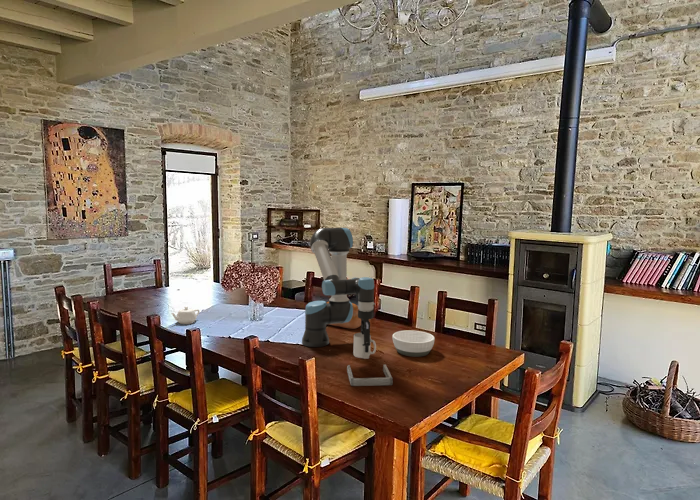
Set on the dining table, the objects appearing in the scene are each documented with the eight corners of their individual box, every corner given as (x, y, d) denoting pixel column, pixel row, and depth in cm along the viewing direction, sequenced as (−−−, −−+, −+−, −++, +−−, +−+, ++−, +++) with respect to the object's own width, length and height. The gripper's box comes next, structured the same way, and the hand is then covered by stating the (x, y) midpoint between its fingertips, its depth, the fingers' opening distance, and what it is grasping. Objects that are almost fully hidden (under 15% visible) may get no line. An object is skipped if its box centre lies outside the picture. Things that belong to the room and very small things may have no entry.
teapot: (176, 327, 283) (176, 311, 282) (166, 323, 291) (165, 308, 290) (204, 321, 299) (204, 305, 298) (193, 317, 306) (193, 302, 305)
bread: (353, 330, 284) (353, 306, 282) (318, 324, 297) (318, 301, 296) (363, 325, 296) (364, 302, 294) (329, 319, 309) (330, 297, 307)
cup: (359, 351, 230) (359, 331, 228) (380, 356, 223) (380, 335, 222) (350, 355, 223) (350, 335, 222) (371, 361, 216) (371, 340, 215)
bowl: (407, 361, 232) (408, 345, 231) (384, 347, 252) (384, 333, 251) (442, 354, 243) (443, 339, 242) (417, 342, 262) (418, 328, 261)
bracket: (350, 386, 200) (350, 379, 200) (347, 371, 217) (347, 365, 216) (392, 385, 202) (392, 378, 201) (385, 370, 219) (385, 364, 218)
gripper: (377, 315, 211) (375, 362, 213) (370, 304, 232) (369, 347, 235) (360, 315, 210) (359, 362, 213) (355, 304, 232) (354, 348, 234)
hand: (364, 355), depth 224 cm, fingers closed on cup, 9 cm apart
